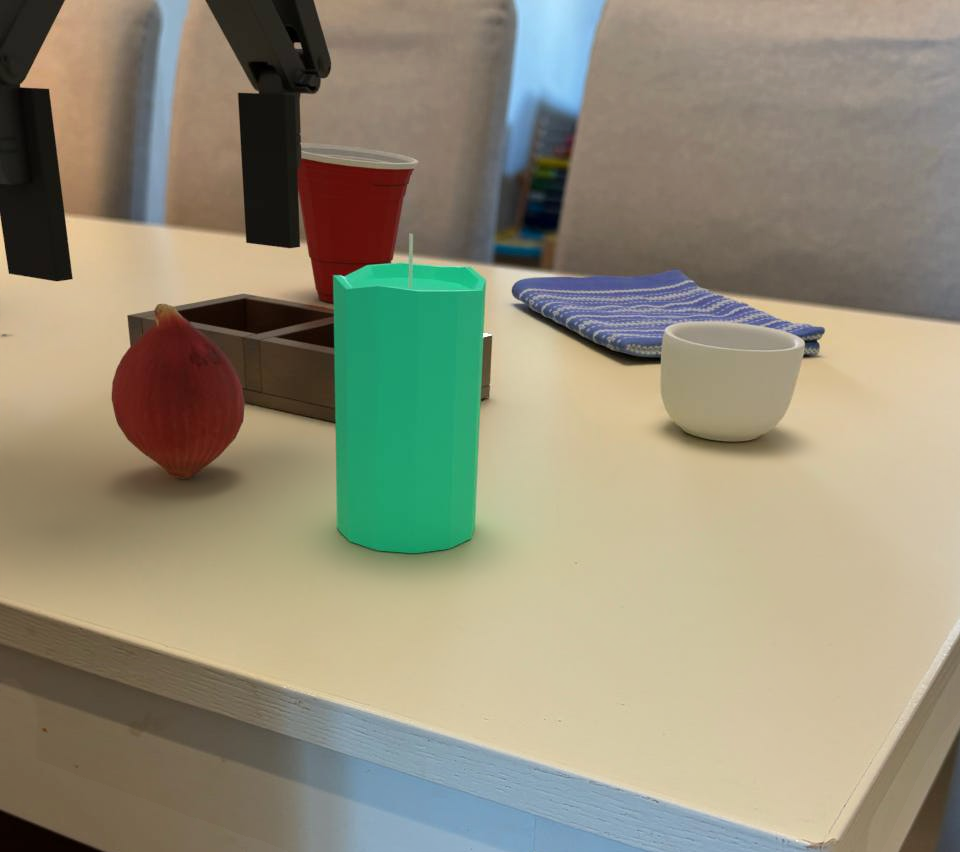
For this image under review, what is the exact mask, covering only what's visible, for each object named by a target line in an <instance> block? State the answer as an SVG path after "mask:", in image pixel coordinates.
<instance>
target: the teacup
mask: <svg viewBox="0 0 960 852" xmlns="http://www.w3.org/2000/svg"><path fill="white" fill-rule="evenodd" d="M804 349H805V342H804V340H803V339H801V338H800V337H798V336H796V335H793V334H791V333H788V332H784V331H781V330H777V329H772V328H768V327H762V326H756V325H749V324H741V323H730V322H685V323H678V324H674V325H670V326H668V327H667V328H666V329H665V331H664V335H663V340H662V351H661V357H660V377H659V378H660V379H659V380H660V381H659V383H660V384H659V385H660V395H661V400H662V404H663V406H664V409H665V411H666V412H667V414H668V416H669V417H670V419H671V420H672V422H674V424H676V425H677V426H678V427H679V428H680V429H681V430H682V431H683V432H685V433H687V434H689V435H691V436H694V437H697V438H701V439H704V440H705V439H706V440H709V441H710V440H711V441H718V442H746V441H752V440H755V439H757V438H760V437H761V436H762V435H765V434H766V433H768V432H770V431H771V430H773V429H775V427H776V426H777V425H778V424H779V423H780V422H781V421H782V419H783V418H784V417H785V415H786V414H787V411H788V409H789V407H790V405H791V403H792V399H793V396H794V392H795V389H796V386H797V381H798V378H799V373H800V370H801V367H802V362H803V359H804V356H805V355H804Z"/></svg>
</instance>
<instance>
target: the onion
mask: <svg viewBox="0 0 960 852" xmlns="http://www.w3.org/2000/svg"><path fill="white" fill-rule="evenodd" d="M174 306H175V305H171V304H167V303H158V304H157V305H156V306H155V308H154V309H153V310H154V311H155V315H156V323H155V326H153V327H152V328H151V329H150V330H148V331H147V332H145V333H144V334H143V335H142V336H141V337H140V338H139V339H138V340H136V341H135V343H134V344H133V345H132V346H131V347H129V348H128V349H127V350H126V352H125V353H124V354H123V355H122V357H121V359H120V361H119V364H118V365H117V367H116V369H115V372H114V376H113V379H112V384H111V397H110V398H111V403H112V409H113V412H114V417H115V420H116V424H117V425H118V428H119V429H120V431H121V432H122V433H123V435H124V436H125V438H126V439H127V441H128V442H129V443H131V444H132V445H133V446H134V447H135V448H136V449H137V450H138V451H139V452H141V453H142V454H143V455H145V456H146V457H148V458H149V459H150V460H152V461H153V462H154V463H156V464H157V465H159V466H160V467H161V468H162V469H164V470H165V472H166V473H167V474H168V475H170V476H171V477H173V478H176V479H181V480H186V479H189V478H191V477H193V476H194V475H196V474H197V473H199V472H200V471H201V470H203V469H205V468H206V467H207V466H209V465H210V464H211V463H212V462H213V461H215V460H216V459H217V458H219V457H220V456H221V455H222V454H223V453H224V451H226V449H227V448H229V446H230V445H231V444H232V443H233V442H234V441H235V439H236V438H237V436H238V433H239V432H240V430H241V427H242V425H243V423H244V417H245V405H246V402H245V400H244V396H243V391H242V386H241V383H240V380H239V378H238V376H237V373H236V371H235V369H234V367H233V366H232V364H231V362H230V361H229V359H228V358H227V356H226V355H225V354H224V353H223V351H222V350H221V349H220V348H219V347H218V346H217V345H216V344H215V343H214V342H213V341H212V340H211V339H210V338H208V337H207V336H206V335H205V334H203V333H202V332H201V331H199V330H198V329H196V328H195V327H194V326H193V325H192V324H191V323H190V322H189V321H188V320H186V319H185V318H184V317H183V316H182V315H180V314H179V313H178V312H177V310H176V309H175V307H174Z"/></svg>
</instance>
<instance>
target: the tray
mask: <svg viewBox="0 0 960 852" xmlns="http://www.w3.org/2000/svg"><path fill="white" fill-rule="evenodd" d="M173 306H174V307H175V309H176V310H177V312H178V313H179V314H180V315H182V316H183V317H184V318H185V319H186V320H188V321H189V322H190V323H191V324H192V325H193V326H194V327H195V328H196V329H198V330H199V331H201V332H202V333H203V334H205V335H206V336H207V337H208V338H210V339H211V340H212V341H213V342H214V343H215V344H216V345H217V346H218V347H219V348H220V349H221V350H222V351H223V353H224V354H225V355H226V356H227V358H228V359H229V361H230V362H231V364H232V366H233V367H234V369H235V371H236V373H237V376H238V378H239V380H240V383H241V386H242V391H243V396H244V400H245V404H246V403H247V404H250V405H251V404H252V405H255V406H260V407H265V408H269V409H273V410H277V411H283V412H288V413H290V414H291V413H292V414H295V415H301V416H305V417H310V418H312V419H313V418H314V419H319V420H323V421H327V422H331V423H332V422H333V423H335V359H334V307H327V306H321V305H320V306H319V305H315V304H308V303H304V302H303V303H302V302H295V301H288V300H284V299H280V298H279V299H278V298H272V297H266V296H260V295H255V294H248V293H239V294H233V295H229V296H223V297H217V298H211V299H208V300H202V301H196V302H190V303H186V304H180V305H173ZM154 310H155V309H153V310H149V311H143V312H138V313H132V314H127V315H126V316H127V327H128V328H127V329H128V337H129V345H130V347H131V346H132V345H133V344H134V343H135V341H136V340H138V339H139V338H140V337H141V336H142V335H143V334H144V333H145V332H147V331H148V330H150V329H151V328H152V327H153V326H155V323H156V315H155V311H154ZM130 347H129V348H130ZM492 350H493V334H490V333H489V334H488V333H484V336H483V358H482V380H481V399H483V398H486V399H488V398H487V397H489V398H490V395H491V393H490V392H491V374H492V373H491V371H492V353H493V352H492ZM483 400H484V399H483Z"/></svg>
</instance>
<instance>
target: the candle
mask: <svg viewBox="0 0 960 852" xmlns="http://www.w3.org/2000/svg"><path fill="white" fill-rule="evenodd" d="M408 234H409V235H408V262H403V261H402V262H401V261H400V262H391V263H389V264H376V265H366V266H364V267H362V268H360V269H358V270H356V271H354V272H352V273H350V274H348V275H346V276H344V277H343V276H341V275H333V295H334V303H333V309H334V359H335V422H334V423H335V477H336V480H335V481H336V486H335V487H336V529H337V530H338V531H339V532H340V533H341V534H342V535H343V536H344V537H345V539H346V540H347V541H348V542H349V543H354V544H355V545H359V546H363V547H365V548H369V549H372V550H374V551H379V552H392V553H405V554H420V553H427V552H435V551H442V550H451V549H452V548H454V547H456V546H458V545H461V544H462V543H465V542H467V541H469V540H471V539H473V534H474V531H475V527H476V513H477V510H476V509H477V491H478V490H477V489H478V471H479V469H478V466H479V463H478V462H479V448H480V447H479V445H480V444H479V443H480V426H481V425H480V424H481V423H480V421H481V403H482V400H481V380H482V358H483V336H484V334H485V311H486V291H487V290H486V288H487V287H486V286H487V279H486V278H485V277H483V276H482V275H481V274H480V273H479V272H477V271H476V270H475V269H474V268H473V267H472V266H459V265H458V266H457V265H456V266H454V265H453V266H452V265H451V266H449V265H433V264H422V263H414V262H413V261H414V234H413V233H408Z"/></svg>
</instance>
